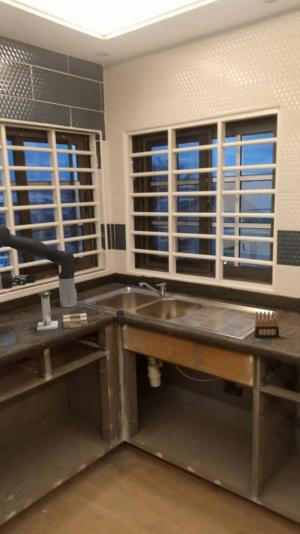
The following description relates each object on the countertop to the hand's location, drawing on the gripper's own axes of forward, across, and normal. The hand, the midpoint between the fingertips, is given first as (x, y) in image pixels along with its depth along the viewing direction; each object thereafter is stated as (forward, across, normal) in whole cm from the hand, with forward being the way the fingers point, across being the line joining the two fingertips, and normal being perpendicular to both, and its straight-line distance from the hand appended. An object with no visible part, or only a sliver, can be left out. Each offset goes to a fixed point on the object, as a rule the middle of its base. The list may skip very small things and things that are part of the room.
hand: (35, 278), depth 209 cm
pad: (+4, -3, +25) cm, 25 cm away
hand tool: (+42, -8, +26) cm, 50 cm away
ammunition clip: (+101, -50, +27) cm, 116 cm away
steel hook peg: (+4, -3, +24) cm, 25 cm away
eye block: (+18, -3, +25) cm, 31 cm away
